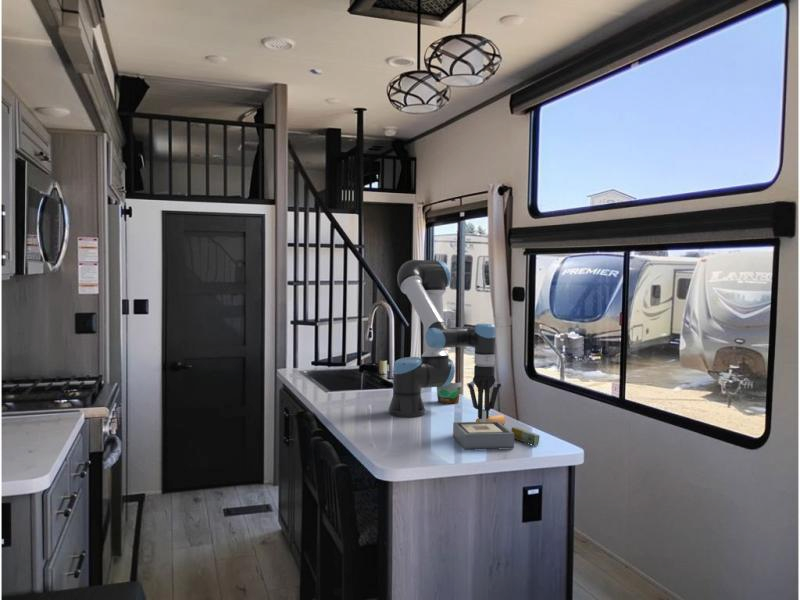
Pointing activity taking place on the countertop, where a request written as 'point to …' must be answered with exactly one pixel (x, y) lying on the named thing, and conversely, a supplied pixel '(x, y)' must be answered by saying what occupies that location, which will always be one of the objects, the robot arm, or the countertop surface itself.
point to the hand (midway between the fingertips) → (483, 427)
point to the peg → (494, 419)
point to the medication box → (525, 436)
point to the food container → (449, 393)
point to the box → (483, 435)
